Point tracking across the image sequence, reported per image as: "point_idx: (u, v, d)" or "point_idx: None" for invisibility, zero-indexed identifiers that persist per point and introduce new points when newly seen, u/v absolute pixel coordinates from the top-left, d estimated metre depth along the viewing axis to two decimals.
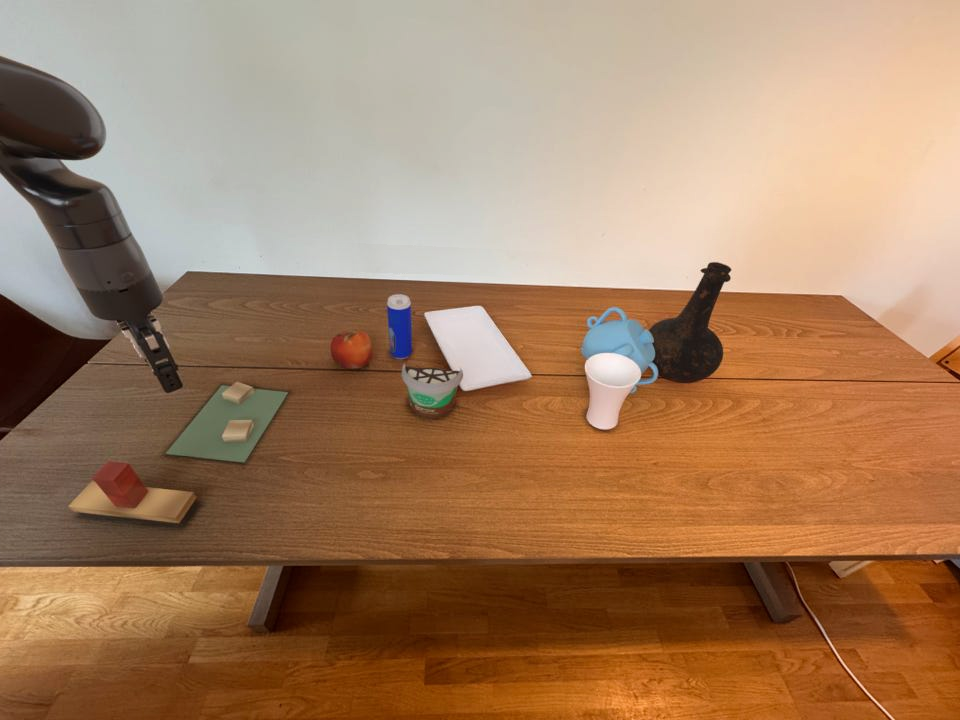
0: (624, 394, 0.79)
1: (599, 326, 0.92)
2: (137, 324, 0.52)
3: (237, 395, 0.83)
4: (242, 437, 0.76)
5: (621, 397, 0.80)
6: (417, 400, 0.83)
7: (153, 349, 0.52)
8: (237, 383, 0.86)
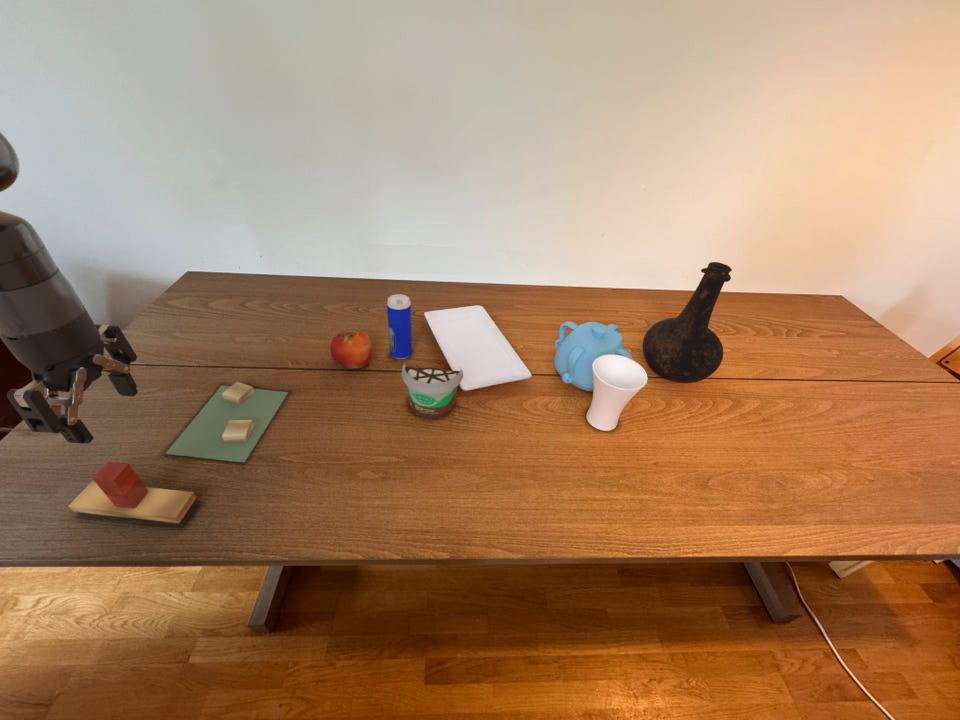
0: (629, 397, 0.79)
1: None
2: (35, 372, 0.46)
3: (237, 395, 0.83)
4: (242, 437, 0.76)
5: (626, 400, 0.80)
6: (417, 400, 0.83)
7: (23, 406, 0.45)
8: (237, 383, 0.86)
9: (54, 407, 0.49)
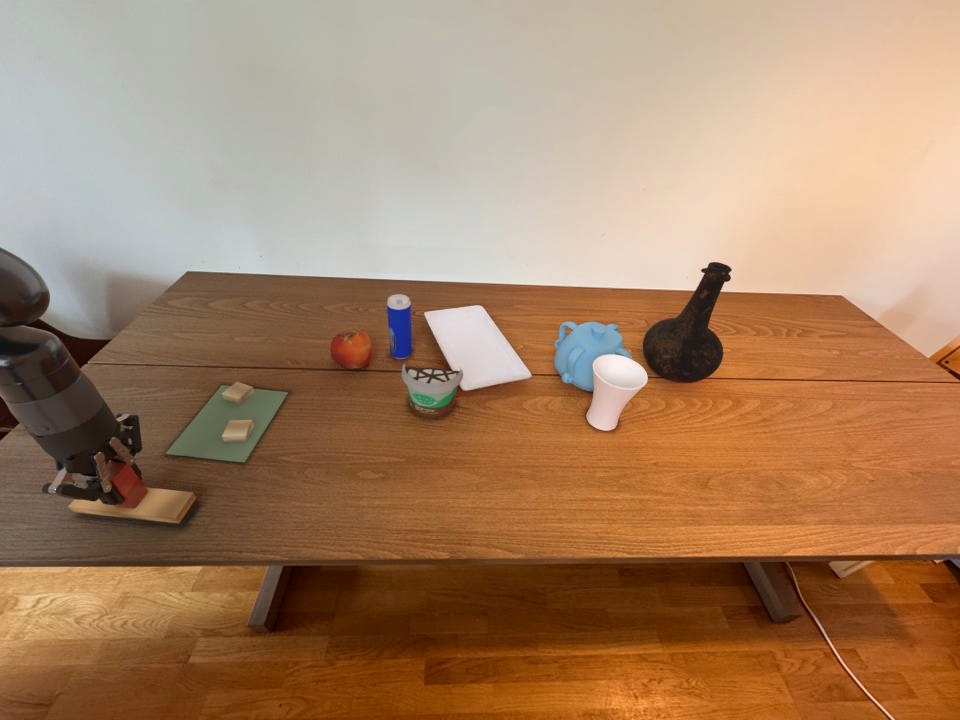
0: (629, 396, 0.79)
1: None
2: (58, 461, 0.52)
3: (237, 395, 0.83)
4: (242, 437, 0.76)
5: (626, 399, 0.80)
6: (417, 400, 0.83)
7: (60, 494, 0.53)
8: (237, 383, 0.86)
9: (89, 480, 0.57)
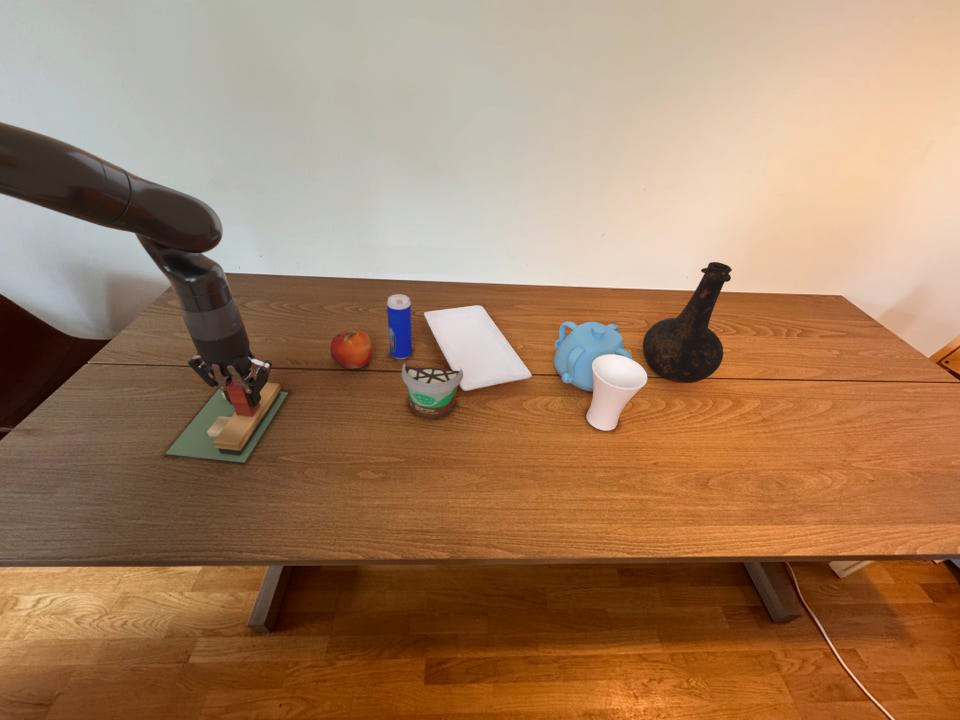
0: (629, 396, 0.79)
1: None
2: None
3: None
4: None
5: (625, 399, 0.80)
6: (417, 400, 0.83)
7: None
8: None
9: None
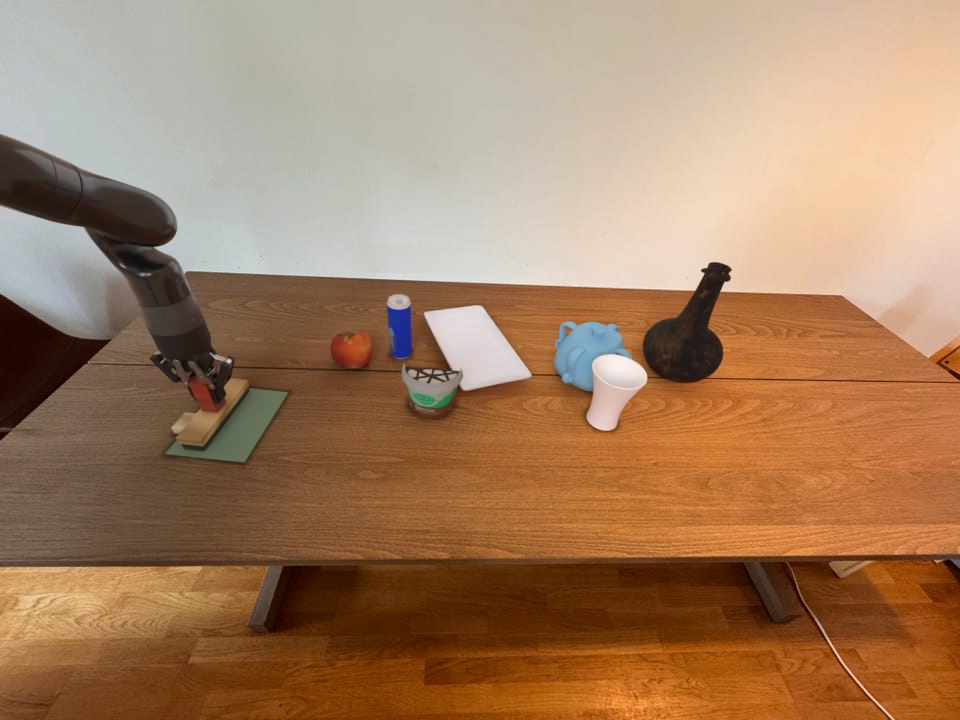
0: (629, 396, 0.79)
1: None
2: None
3: None
4: None
5: (625, 399, 0.80)
6: (417, 400, 0.83)
7: None
8: None
9: None
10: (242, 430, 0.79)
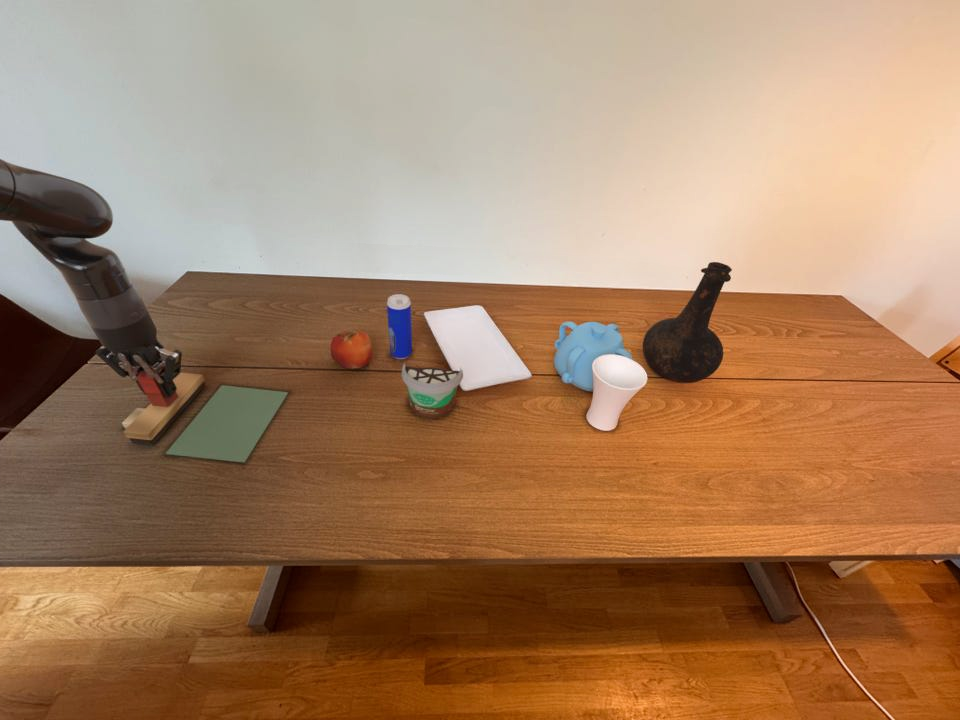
0: (629, 397, 0.79)
1: None
2: None
3: None
4: None
5: (625, 399, 0.80)
6: (417, 400, 0.83)
7: None
8: None
9: None
10: (242, 430, 0.79)
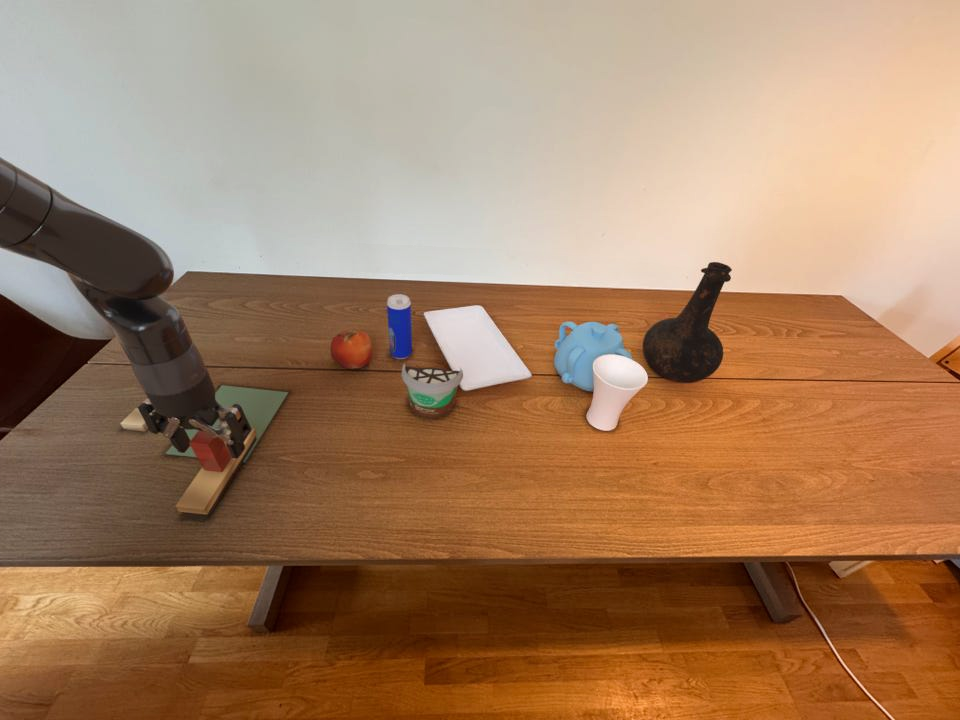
0: (629, 397, 0.79)
1: None
2: None
3: None
4: (139, 426, 0.76)
5: (626, 399, 0.80)
6: (417, 400, 0.83)
7: None
8: None
9: None
10: None
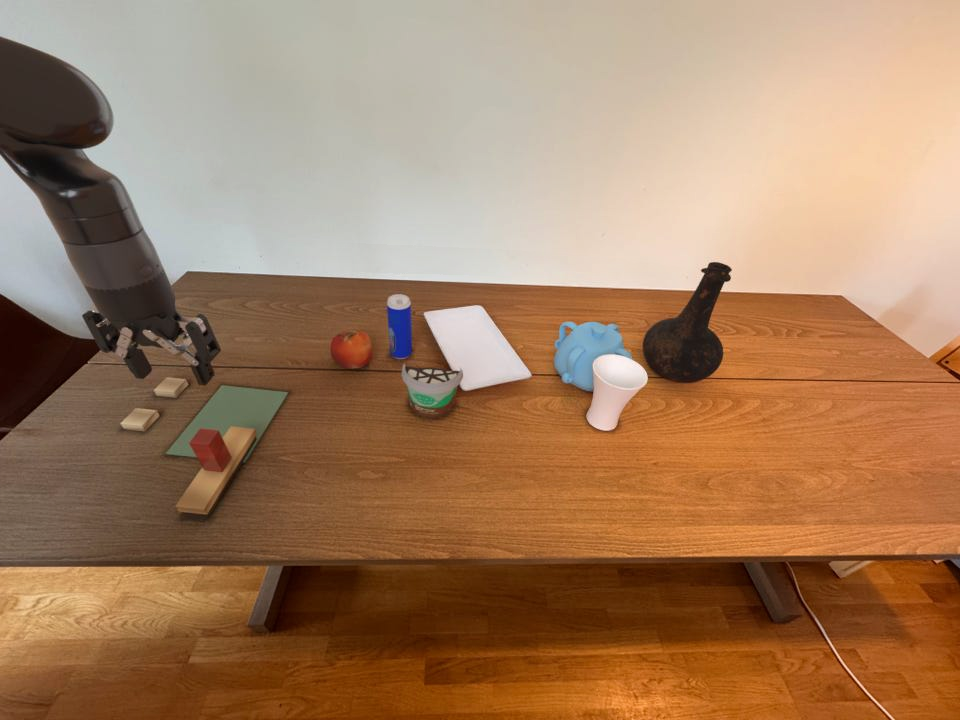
0: (629, 397, 0.79)
1: None
2: None
3: (171, 389, 0.84)
4: (139, 426, 0.76)
5: (626, 399, 0.80)
6: (417, 400, 0.83)
7: None
8: (168, 378, 0.86)
9: None
10: None
